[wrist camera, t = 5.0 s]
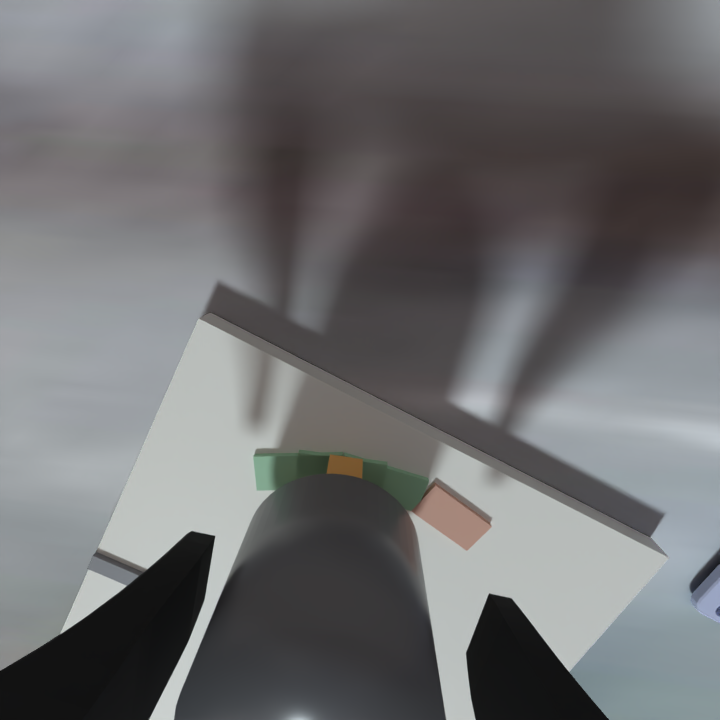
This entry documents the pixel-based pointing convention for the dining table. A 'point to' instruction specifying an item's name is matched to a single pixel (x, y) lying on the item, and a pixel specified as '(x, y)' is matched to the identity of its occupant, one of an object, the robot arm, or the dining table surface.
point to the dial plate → (381, 467)
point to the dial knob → (320, 612)
